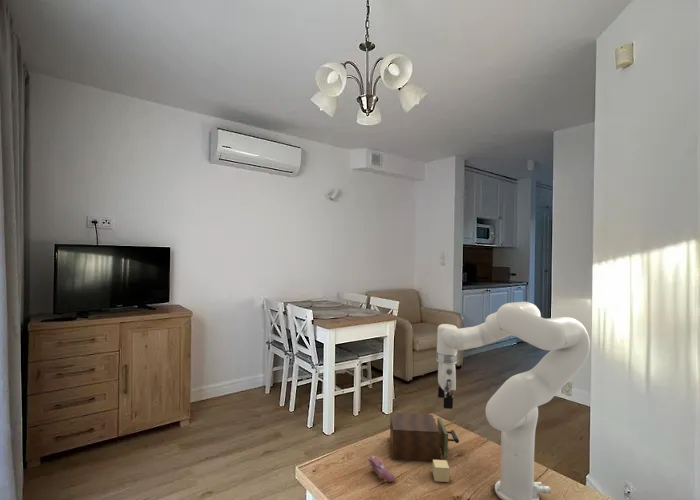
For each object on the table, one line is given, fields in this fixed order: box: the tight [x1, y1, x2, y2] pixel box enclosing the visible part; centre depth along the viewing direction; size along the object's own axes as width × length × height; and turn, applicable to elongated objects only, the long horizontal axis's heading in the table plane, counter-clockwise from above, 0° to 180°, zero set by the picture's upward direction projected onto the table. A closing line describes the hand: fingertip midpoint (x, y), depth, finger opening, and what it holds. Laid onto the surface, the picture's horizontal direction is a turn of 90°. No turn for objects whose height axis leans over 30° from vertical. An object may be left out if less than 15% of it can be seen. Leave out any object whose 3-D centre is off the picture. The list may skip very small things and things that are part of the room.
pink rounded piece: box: [367, 455, 396, 483], centre depth 122 cm, size 10×5×7 cm, turn 25°
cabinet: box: [389, 412, 440, 462], centre depth 139 cm, size 17×15×11 cm
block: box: [432, 459, 450, 483], centre depth 122 cm, size 5×5×5 cm
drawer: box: [434, 417, 460, 459], centre depth 139 cm, size 20×13×9 cm, turn 87°
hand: (444, 402), depth 139 cm, fingers open, 9 cm apart
